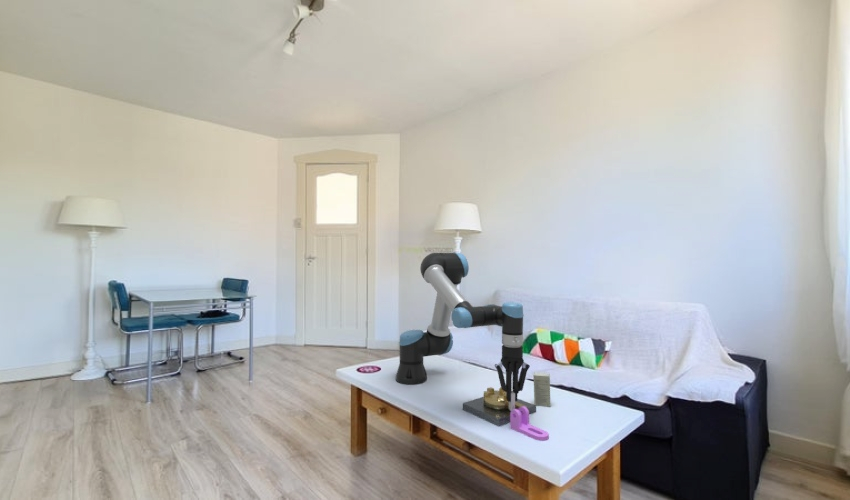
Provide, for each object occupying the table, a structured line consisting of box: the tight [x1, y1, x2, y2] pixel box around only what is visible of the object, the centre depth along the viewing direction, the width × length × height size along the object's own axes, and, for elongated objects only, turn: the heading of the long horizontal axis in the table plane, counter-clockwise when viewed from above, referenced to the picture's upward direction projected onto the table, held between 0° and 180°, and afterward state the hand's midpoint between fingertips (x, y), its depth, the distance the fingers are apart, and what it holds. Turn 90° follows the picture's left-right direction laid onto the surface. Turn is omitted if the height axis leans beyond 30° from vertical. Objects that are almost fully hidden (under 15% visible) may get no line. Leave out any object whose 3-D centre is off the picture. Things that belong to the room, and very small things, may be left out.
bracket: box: [509, 406, 550, 442], centre depth 131 cm, size 13×6×7 cm, turn 37°
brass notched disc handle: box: [482, 386, 527, 410], centre depth 147 cm, size 19×12×4 cm, turn 33°
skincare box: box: [532, 371, 552, 407], centre depth 157 cm, size 6×4×12 cm
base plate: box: [462, 396, 537, 427], centre depth 149 cm, size 22×21×3 cm
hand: (511, 410), depth 141 cm, fingers closed
